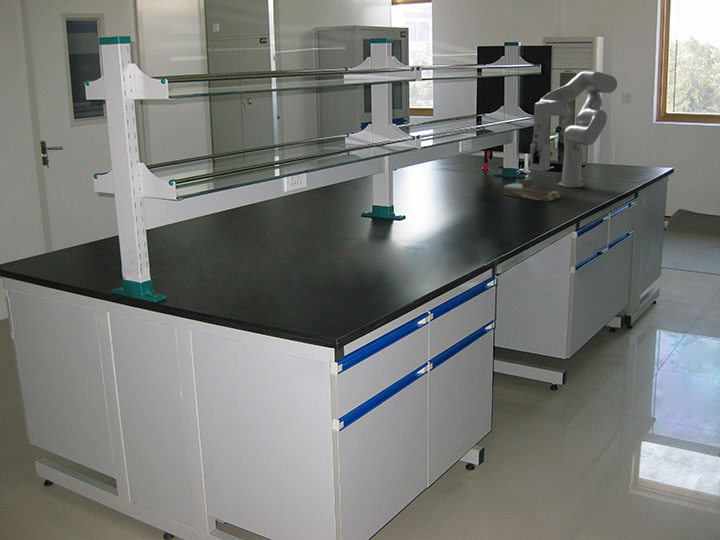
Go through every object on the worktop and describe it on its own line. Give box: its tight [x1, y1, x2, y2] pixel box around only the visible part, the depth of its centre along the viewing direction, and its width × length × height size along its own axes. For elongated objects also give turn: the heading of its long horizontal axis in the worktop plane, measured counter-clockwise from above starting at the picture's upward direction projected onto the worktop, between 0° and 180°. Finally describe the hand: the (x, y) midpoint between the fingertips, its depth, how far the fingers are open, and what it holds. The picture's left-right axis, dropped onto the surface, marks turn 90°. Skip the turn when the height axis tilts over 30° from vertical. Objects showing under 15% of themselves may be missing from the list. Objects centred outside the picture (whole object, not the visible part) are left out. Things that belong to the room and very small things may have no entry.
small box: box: [528, 143, 551, 172], centre depth 382 cm, size 8×6×13 cm
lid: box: [503, 177, 536, 190], centre depth 376 cm, size 10×12×5 cm
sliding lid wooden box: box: [502, 183, 562, 202], centre depth 372 cm, size 14×24×4 cm, turn 49°
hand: (539, 162), depth 382 cm, fingers closed on small box, 6 cm apart
